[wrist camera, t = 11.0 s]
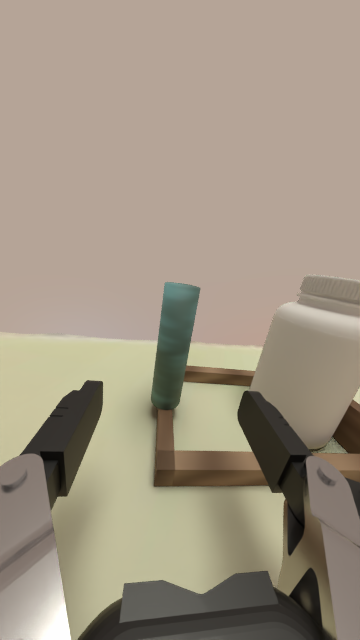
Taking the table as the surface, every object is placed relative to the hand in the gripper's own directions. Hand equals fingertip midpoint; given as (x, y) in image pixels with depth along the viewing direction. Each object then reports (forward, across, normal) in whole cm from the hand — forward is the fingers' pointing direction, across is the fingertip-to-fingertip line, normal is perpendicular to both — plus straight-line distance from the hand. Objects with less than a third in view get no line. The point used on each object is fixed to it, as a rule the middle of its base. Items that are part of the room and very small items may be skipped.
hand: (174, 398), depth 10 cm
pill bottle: (+6, -14, +7) cm, 16 cm away
